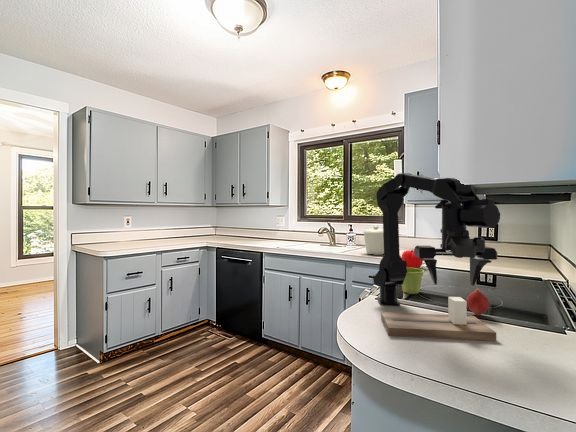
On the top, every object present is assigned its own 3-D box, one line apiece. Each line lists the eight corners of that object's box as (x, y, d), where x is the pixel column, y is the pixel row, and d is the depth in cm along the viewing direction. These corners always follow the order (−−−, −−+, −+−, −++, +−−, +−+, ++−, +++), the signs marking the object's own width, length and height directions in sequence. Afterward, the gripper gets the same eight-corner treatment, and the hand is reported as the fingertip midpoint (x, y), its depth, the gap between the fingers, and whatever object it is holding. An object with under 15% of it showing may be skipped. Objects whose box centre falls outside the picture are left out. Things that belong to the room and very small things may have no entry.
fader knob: (448, 318, 83) (448, 296, 83) (460, 319, 82) (460, 297, 82) (454, 324, 79) (454, 301, 79) (466, 324, 78) (466, 301, 78)
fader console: (381, 319, 89) (381, 311, 89) (473, 323, 86) (473, 315, 86) (388, 335, 77) (388, 326, 77) (496, 340, 74) (496, 331, 74)
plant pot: (428, 295, 113) (428, 272, 113) (401, 295, 114) (401, 272, 114) (419, 289, 123) (419, 267, 123) (395, 288, 124) (395, 267, 124)
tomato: (407, 270, 161) (407, 251, 161) (397, 266, 174) (397, 248, 174) (428, 270, 162) (428, 250, 162) (417, 266, 174) (417, 248, 174)
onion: (462, 312, 95) (462, 286, 95) (479, 311, 95) (479, 286, 95) (474, 318, 89) (474, 291, 89) (493, 318, 89) (493, 290, 89)
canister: (381, 257, 210) (381, 226, 209) (358, 254, 222) (358, 225, 222) (393, 254, 223) (393, 225, 222) (370, 252, 235) (370, 224, 235)
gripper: (425, 227, 74) (425, 291, 74) (510, 227, 72) (509, 294, 72) (413, 225, 85) (413, 281, 85) (486, 225, 83) (486, 283, 83)
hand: (453, 284), depth 81 cm, fingers open, 9 cm apart
